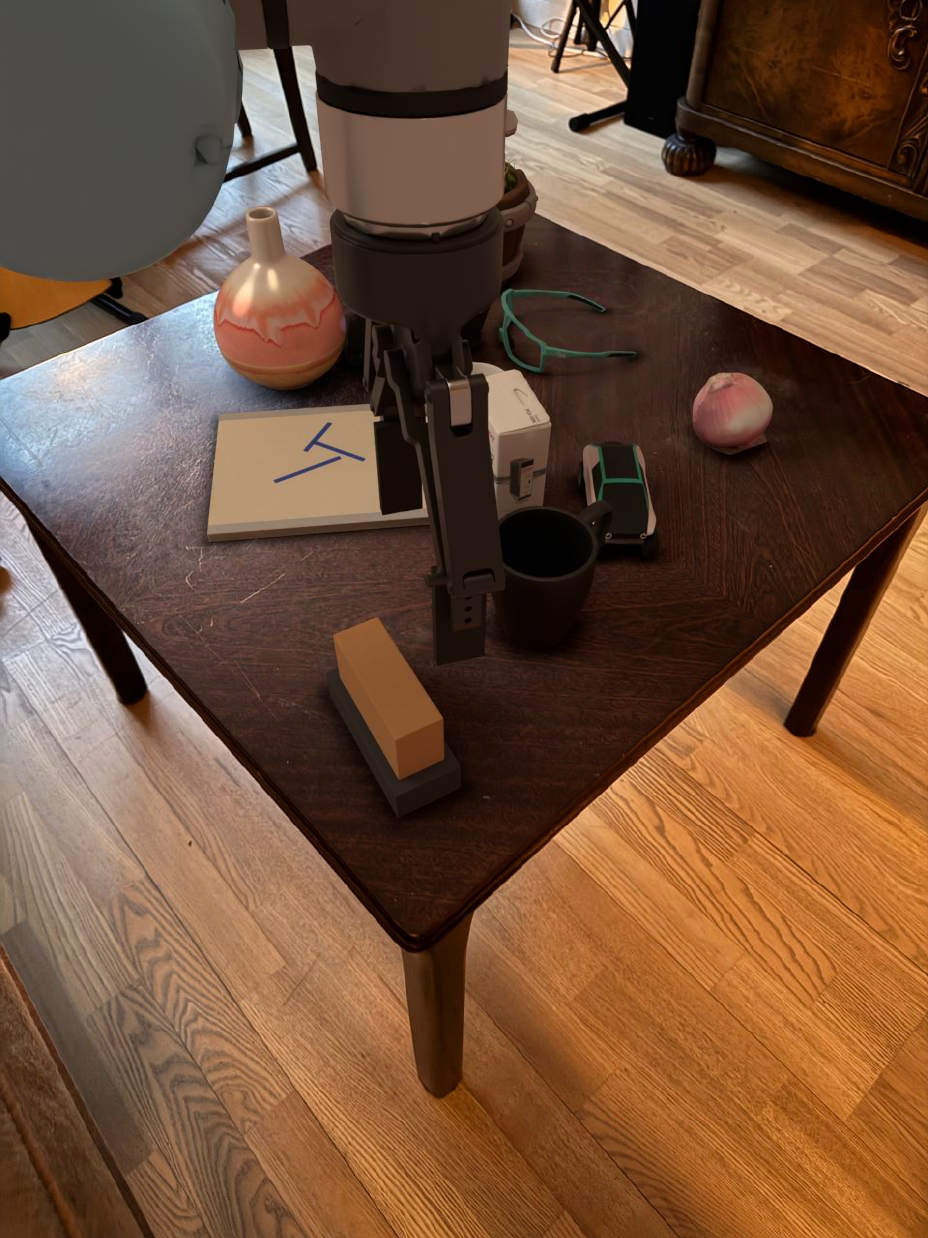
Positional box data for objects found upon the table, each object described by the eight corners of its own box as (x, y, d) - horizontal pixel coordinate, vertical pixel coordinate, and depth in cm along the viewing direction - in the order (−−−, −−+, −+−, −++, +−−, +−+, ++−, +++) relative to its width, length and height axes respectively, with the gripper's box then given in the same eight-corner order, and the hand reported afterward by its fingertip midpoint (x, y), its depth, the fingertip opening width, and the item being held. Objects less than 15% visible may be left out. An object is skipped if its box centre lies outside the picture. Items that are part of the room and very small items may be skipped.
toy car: (637, 475, 85) (645, 430, 80) (654, 563, 77) (665, 518, 73) (576, 475, 85) (582, 430, 80) (587, 563, 77) (594, 518, 73)
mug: (635, 604, 73) (654, 521, 66) (535, 680, 68) (544, 598, 61) (564, 553, 77) (575, 469, 70) (464, 622, 72) (465, 538, 65)
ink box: (463, 480, 84) (463, 375, 75) (510, 470, 85) (516, 365, 76) (492, 540, 79) (497, 433, 70) (543, 528, 80) (553, 422, 71)
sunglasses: (480, 318, 103) (485, 278, 100) (596, 313, 107) (605, 274, 103) (515, 384, 94) (522, 342, 91) (640, 377, 98) (651, 336, 94)
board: (209, 542, 78) (206, 533, 77) (221, 421, 90) (219, 413, 89) (430, 524, 80) (429, 516, 79) (413, 408, 92) (413, 400, 91)
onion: (701, 408, 92) (716, 348, 86) (773, 430, 89) (793, 369, 84) (675, 450, 87) (690, 389, 82) (751, 474, 85) (771, 412, 79)
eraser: (398, 819, 60) (391, 757, 54) (329, 695, 67) (316, 628, 61) (461, 788, 62) (461, 725, 56) (388, 671, 69) (381, 603, 63)
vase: (218, 351, 99) (180, 191, 85) (336, 332, 101) (318, 174, 88) (235, 421, 90) (195, 256, 77) (363, 398, 93) (347, 234, 79)
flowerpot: (497, 236, 117) (503, 68, 102) (553, 288, 108) (568, 112, 93) (398, 258, 113) (388, 86, 98) (446, 314, 104) (444, 134, 89)
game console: (459, 306, 105) (460, 232, 98) (493, 368, 97) (496, 292, 90) (333, 325, 102) (324, 250, 95) (356, 390, 94) (348, 313, 87)
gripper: (614, 325, 29) (560, 720, 44) (428, 115, 46) (434, 452, 61) (397, 354, 28) (417, 753, 43) (287, 126, 45) (329, 468, 60)
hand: (427, 576), depth 52 cm, fingers open, 13 cm apart
